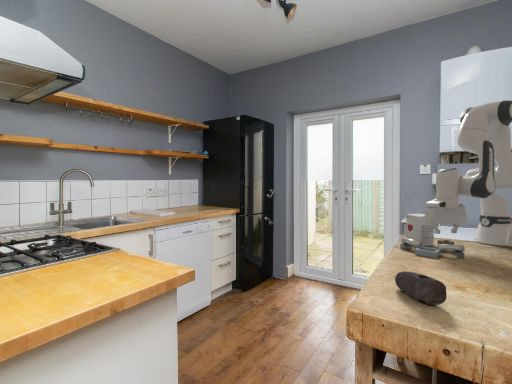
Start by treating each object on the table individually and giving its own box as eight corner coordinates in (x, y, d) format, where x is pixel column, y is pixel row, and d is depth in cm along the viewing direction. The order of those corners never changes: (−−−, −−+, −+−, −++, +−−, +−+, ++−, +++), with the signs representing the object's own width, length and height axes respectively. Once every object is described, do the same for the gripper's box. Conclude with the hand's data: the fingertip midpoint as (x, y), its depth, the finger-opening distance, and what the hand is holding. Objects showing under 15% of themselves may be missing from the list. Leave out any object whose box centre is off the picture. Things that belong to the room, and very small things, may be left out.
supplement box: (405, 242, 143) (405, 214, 143) (418, 241, 146) (419, 213, 145) (420, 246, 135) (421, 216, 134) (434, 245, 137) (435, 215, 137)
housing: (420, 251, 125) (420, 246, 125) (440, 254, 120) (440, 249, 120) (414, 254, 120) (415, 249, 120) (435, 258, 114) (435, 252, 114)
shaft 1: (423, 252, 124) (423, 241, 124) (415, 252, 123) (416, 241, 123) (406, 247, 133) (407, 237, 133) (399, 248, 132) (399, 237, 131)
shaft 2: (440, 256, 117) (440, 244, 116) (436, 254, 121) (436, 242, 121) (465, 258, 114) (465, 246, 114) (460, 255, 118) (460, 244, 118)
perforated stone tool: (388, 288, 82) (389, 265, 82) (403, 286, 84) (404, 264, 83) (431, 311, 68) (432, 283, 68) (448, 309, 69) (449, 281, 69)
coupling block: (445, 249, 130) (445, 238, 129) (454, 251, 125) (454, 240, 125) (437, 249, 129) (437, 238, 128) (446, 252, 124) (446, 240, 124)
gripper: (458, 202, 131) (457, 231, 132) (422, 202, 127) (421, 232, 127) (471, 203, 125) (470, 234, 126) (434, 203, 120) (433, 235, 121)
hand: (445, 233), depth 126 cm, fingers open, 8 cm apart
